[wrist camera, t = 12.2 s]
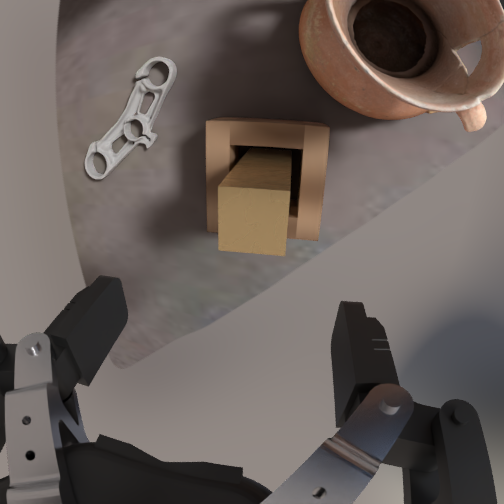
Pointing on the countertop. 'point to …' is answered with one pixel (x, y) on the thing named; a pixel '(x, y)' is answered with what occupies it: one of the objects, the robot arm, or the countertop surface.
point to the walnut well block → (271, 135)
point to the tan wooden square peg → (256, 203)
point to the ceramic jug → (405, 55)
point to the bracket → (125, 120)
